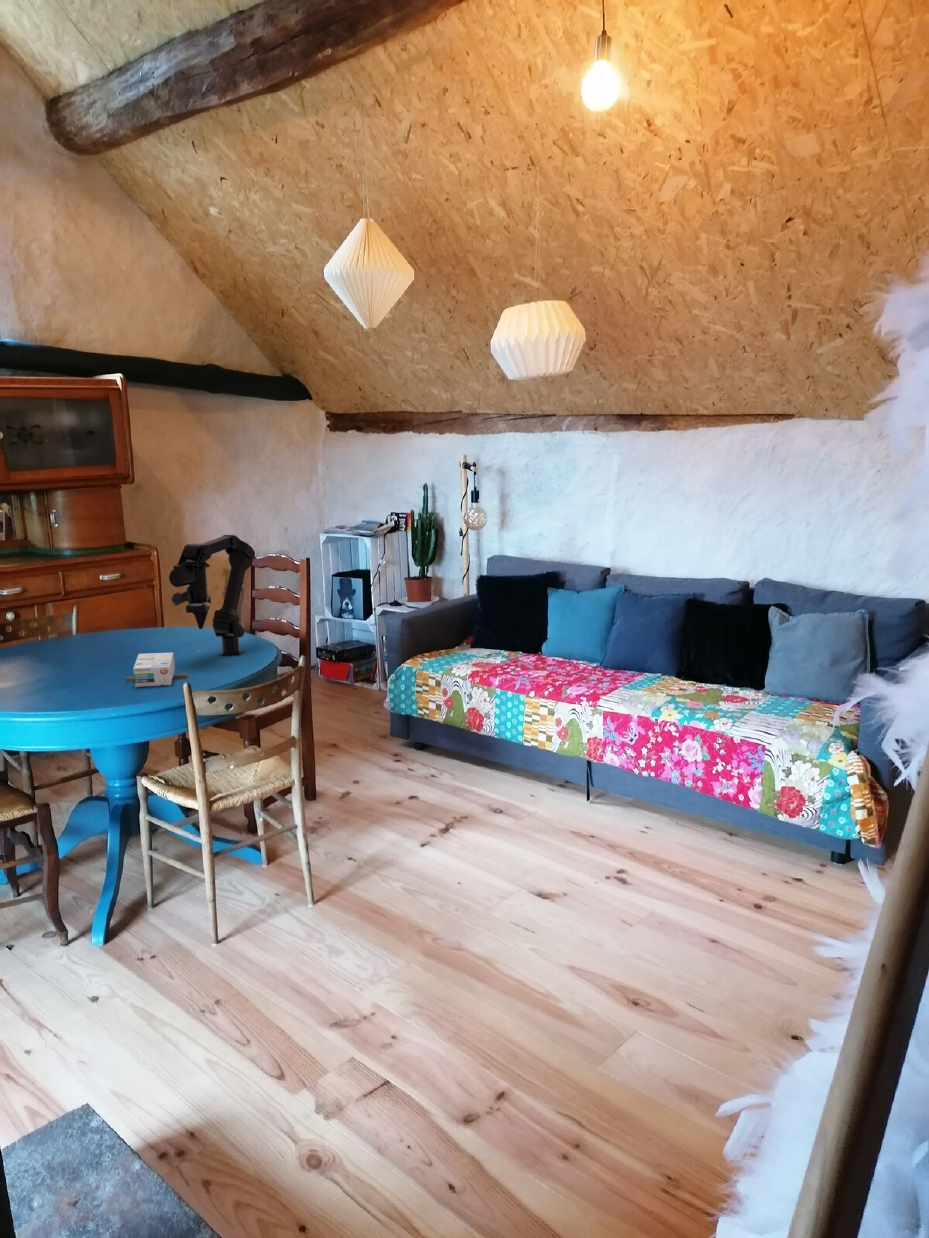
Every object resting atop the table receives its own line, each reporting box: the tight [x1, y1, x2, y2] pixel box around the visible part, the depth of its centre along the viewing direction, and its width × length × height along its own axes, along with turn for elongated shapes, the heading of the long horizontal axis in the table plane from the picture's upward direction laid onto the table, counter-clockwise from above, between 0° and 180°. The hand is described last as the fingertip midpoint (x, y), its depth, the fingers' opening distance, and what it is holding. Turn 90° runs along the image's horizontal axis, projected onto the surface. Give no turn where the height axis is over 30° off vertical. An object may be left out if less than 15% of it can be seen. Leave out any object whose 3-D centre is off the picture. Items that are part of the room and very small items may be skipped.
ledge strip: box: [125, 673, 189, 682], centre depth 259 cm, size 2×18×1 cm, turn 101°
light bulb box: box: [132, 652, 176, 688], centre depth 255 cm, size 11×7×11 cm
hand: (200, 628), depth 275 cm, fingers closed
